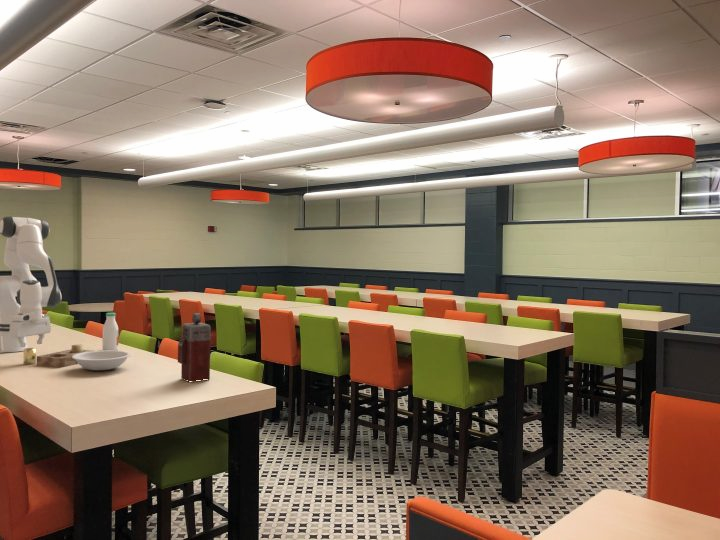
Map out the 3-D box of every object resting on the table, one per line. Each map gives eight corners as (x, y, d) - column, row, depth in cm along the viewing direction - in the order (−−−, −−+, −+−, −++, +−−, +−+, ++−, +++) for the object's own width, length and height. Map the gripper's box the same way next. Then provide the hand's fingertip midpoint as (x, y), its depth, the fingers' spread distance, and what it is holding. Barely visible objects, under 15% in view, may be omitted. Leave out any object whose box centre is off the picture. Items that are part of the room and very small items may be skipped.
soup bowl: (59, 370, 247) (59, 356, 247) (106, 362, 268) (107, 348, 268) (96, 377, 236) (96, 362, 236) (142, 368, 257) (142, 353, 257)
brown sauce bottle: (175, 379, 236) (176, 312, 235) (201, 376, 243) (202, 311, 243) (184, 383, 229) (185, 314, 229) (209, 379, 236) (211, 313, 236)
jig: (36, 365, 258) (36, 349, 258) (73, 357, 279) (73, 342, 279) (61, 367, 254) (62, 351, 254) (96, 359, 275) (96, 344, 275)
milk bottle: (114, 351, 296) (114, 313, 296) (99, 351, 297) (100, 313, 296) (120, 349, 304) (121, 312, 304) (106, 348, 304) (107, 312, 304)
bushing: (20, 364, 258) (21, 349, 258) (29, 362, 263) (30, 347, 263) (29, 365, 257) (29, 349, 257) (38, 363, 262) (38, 348, 262)
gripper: (43, 313, 270) (43, 341, 271) (6, 317, 251) (7, 348, 251) (54, 313, 269) (54, 342, 269) (18, 317, 249) (18, 348, 249)
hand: (31, 345), depth 260 cm, fingers open, 8 cm apart
